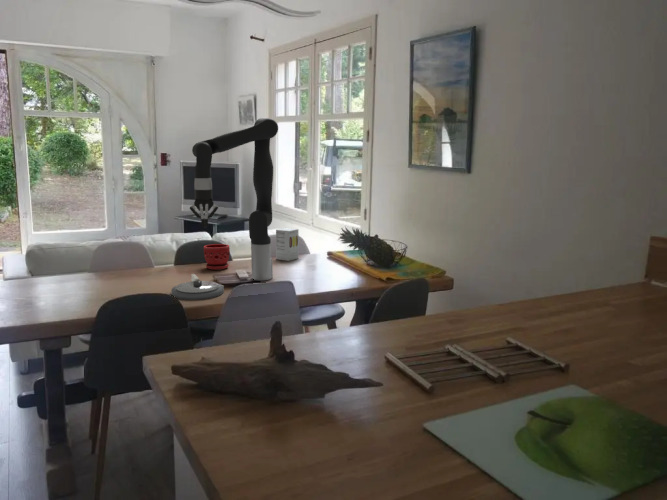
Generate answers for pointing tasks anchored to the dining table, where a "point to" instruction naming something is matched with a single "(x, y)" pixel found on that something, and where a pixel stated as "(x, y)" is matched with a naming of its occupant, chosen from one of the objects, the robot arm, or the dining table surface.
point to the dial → (197, 286)
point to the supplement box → (287, 244)
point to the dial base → (199, 295)
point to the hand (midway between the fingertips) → (204, 227)
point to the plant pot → (214, 260)
